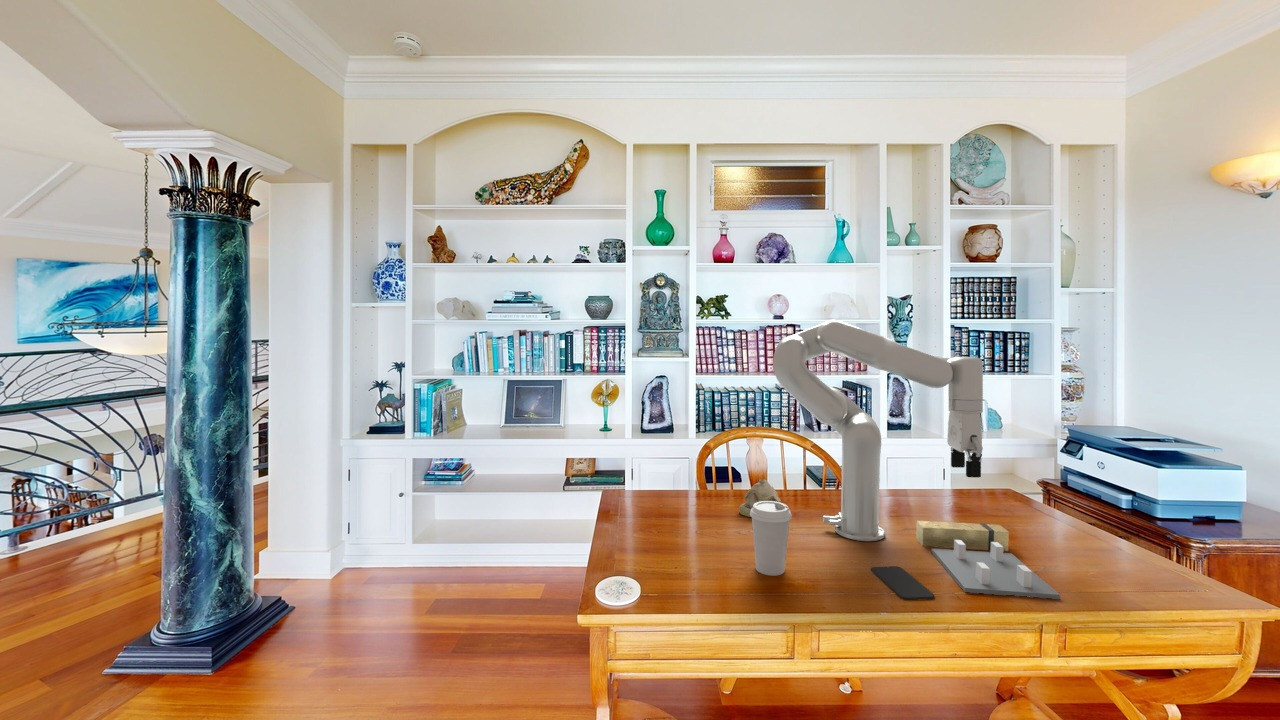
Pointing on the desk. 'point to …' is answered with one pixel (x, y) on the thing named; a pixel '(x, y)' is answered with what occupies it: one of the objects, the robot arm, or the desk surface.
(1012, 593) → the peg plate
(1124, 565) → the desk surface
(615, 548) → the desk surface
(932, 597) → the phone
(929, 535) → the tan long bar
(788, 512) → the coffee cup
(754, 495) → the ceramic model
